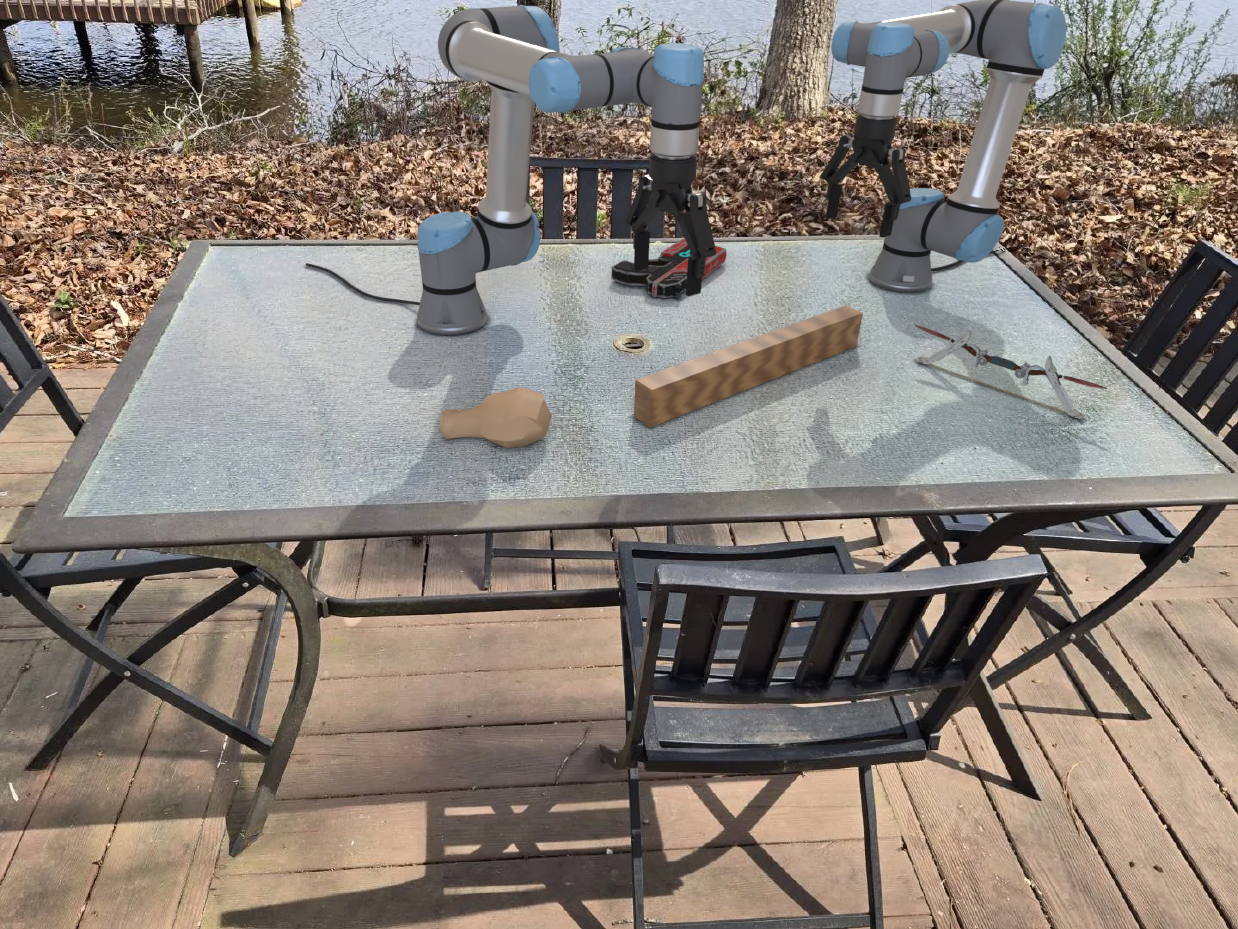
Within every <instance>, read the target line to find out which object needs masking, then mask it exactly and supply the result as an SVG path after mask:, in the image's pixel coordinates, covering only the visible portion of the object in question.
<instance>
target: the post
mask: <svg viewBox="0 0 1238 929" xmlns="http://www.w3.org/2000/svg"><path fill="white" fill-rule="evenodd" d="M863 316H864V312H862V311H860V310H858V309H855V308H853V307H850V306H848V305H844V306H840V307H838V308H834V309H832V310H828V311H827V312H823V313H820V314H817V315H815V316H812V317H809V318H806V319H803V320H801V321H798V322H795V323H792V324H789V325H786V326H784V327H781V328H778V329H775V330H772V331H769V332H766V333H764V334H761V335H758V336H755V337H752V338H750V339H747V340H744V341H742V342H739V343H735V344H733V345H730V346H727V347H725V348H722V349H718V350H715V351H713V352H710V353H707V354H704V355H701V356H698V357H696V358H692V359H690V360H687V361H684V362H681V363H678V364H676V365H673V366H670V367H667V368H664V369H662V370H659V371H656V372H653V373H651V374H648V375H645V376H641V377H639V378H636V379H635V381H634V403H633V404H634V406H633V418H635V419H636V420H638V421H640V423H642V424H644V425H645V426H647V427H648V428H653V427H655V426H658V425H661V424H664V423H666V422H668V421H671V420H673V419H675V418H679V417H681V416H683V415H686V414H688V413H691V412H694V411H696V410H699V409H701V408H704V407H707V406H709V405H711V404H714V403H716V402H720V401H722V400H723V399H726V398H729V397H732V396H734V395H737V394H739V393H742V392H745V391H747V390H749V389H752V388H755V387H757V386H759V385H762V384H765V383H767V382H770V381H773V380H775V379H777V378H780V377H782V376H785V375H788V374H790V373H793V372H795V371H798V370H801V369H802V368H805V367H808V366H810V365H812V364H816V363H819V362H820V361H823V360H825V359H828V358H831V357H833V356H835V355H836V356H837V355H839V354H841V353H844V352H847V351H848V350H851V349H853V348H856V347H857V345H858V340H859V336H860V332H861V326H862V320H863Z"/></svg>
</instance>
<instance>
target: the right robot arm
mask: <svg viewBox="0 0 1238 929" xmlns="http://www.w3.org/2000/svg"><path fill="white" fill-rule="evenodd" d="M1065 16H1066V15H1065V14H1064V12H1063V11H1062V9H1060V7H1058V6H1055V5H1050V4H1045V3H1043V2H1037V3H1036V2H1028V1H1019V0H971V1H964V2H960V3H955V4H949V5H946V6H944V7H942V8H941V9H940V10H939V11H937V12H930V13H925V14H919V15H912V16H906V17H899V18H892V19H887V20H880V21H873V22H859V21H858V20H857V21H843V22H842V23H841V24H839V25H838V26H837V28H836V29H835V31H834V33H833V35H832V38H831V46H830V48H831V49H830V50H831V51H830V52H831V54H832V57H833V59H834V60H835V61H836V62H838V63H843V64H846V65H847V66H850V65H851V66H852V65H853V66H857V67H863V68H864V72H863V78H862V84H861V89H860V94H859V99H858V105H857V112H858V115H857V116H856V118H855V123H854V130H853V134H854V136H853V135H852V134H851V133H850V134H845V135H841V136H840V137H839V141H838V145H837V148H836V149H835V151H834V153H833V154H832V155H831V157H830V159H829V161H828V162H827V164H826V166H825V168H824V169H823V171H822V173H821V175H820V179H821V180H824V181H825V182H826V183H827V190H826V196H825V198H826V201H827V207H826V212H825V219H827V220H830V219H833V218H837V217H838V213H839V206H840V201H841V196H842V189H843V184H840V183H841V182H842V180H843V179H844V178H845V177H847V175H848V174H849V173H850V172H852V170H853V169H854V168H855V167H856V166H858V165H859V166H862V167H864V166H866V167H867V168H869V169H874V172H875V173H876V174H878V177H879V180H880V182H881V185H882V187H883V191H884V192H885V195H886V197H887V200H888V202H887V203H885V204H884V210H883V215H882V219H881V225H880V230H879V236H878V237H879V238H882V239H883V238H884V239H883V244H882V249H881V251H880V253H879V254H878V256H877V258H876V261H875V262H874V265H872V267H871V269H870V272H869V276H868V277H869V281H870V282H871V283H872V284H873V285H874V286H877V287H878V288H881V289H883V290H887V291H889V292H890V291H891V292H896V293H904V294H905V293H906V294H915V293H921V292H925V291H928V290H929V289H930V288H931V287H932V284H933V283H932V282H933V273H932V272H938V271H943V270H947V269H950V268H953V267H956V266H958V265H960V264H962V263H963V262H966V263H971V264H975V263H979V262H982V260H984V259H985V258H986V257H987V256H989V255H993V254H995V253H997V252H998V251H1002V252H1003V253H1005V252H1006V249H1005V247H1003V249H1004V250H1005V251H1003V250H1002V249H1000V250H996V251H992V250H994V249H995V247H996V245H997V244H998V242H999V240H1000V238H1001V237H1002V234H1003V232H1004V223H1005V220H1004V218H1003V217H1001V215H999V214H998V213H999V212H1000V211H999V210H1000V208H1001V205H1000V202H999V201H998V199H997V194H998V190H999V188H1000V184H1001V182H1002V178H1003V175H1004V172H1005V169H1006V166H1007V163H1008V160H1009V157H1010V154H1011V150H1012V148H1013V145H1014V141H1015V138H1016V135H1017V132H1018V129H1019V126H1020V123H1021V119H1022V117H1023V113H1024V111H1025V107H1026V104H1027V102H1028V98H1029V95H1030V92H1031V89H1032V86H1033V85H1034V84H1035V83H1036V82H1038V81H1039V80H1041V79H1042V78H1043V75H1044V73H1045V70H1049V69H1051V68H1053V67H1054V66H1055V65H1056V64H1057V63H1058V60H1059V58H1060V57H1061V56H1062V53H1063V51H1064V47H1065V43H1066V38H1067V22H1066V17H1065ZM951 54H960V55H964V56H965V55H966V56H970V57H974V58H981V59H984V60H988V61H987V63H986V64H987V65H986V68H985V70H986V72H987V73H988V76H989V78H990V80H989V83H988V86H987V90H986V93H985V96H984V100H983V103H982V106H981V110H980V113H979V115H978V120H977V122H976V126H975V128H974V133H973V136H972V139H971V142H970V146H969V149H968V152H967V156H966V159H965V163H964V167H963V168H962V169H963V170H962V173H961V175H960V179H959V182H958V185H957V186H958V187H957V189H956V190H955V191H954V192H952V193H951V194H949V195H948V196H947V199H946V200H944V199H945V193H944V191H942V190H940V189H938V188H937V189H935V188H929V187H927V188H926V187H922V188H921V187H916V188H910V183H909V177H908V173H907V166H906V152H907V151H906V148H904V147H902V148H901V147H900V148H893V147H892V142H893V140H894V138H895V135H896V131H897V130H896V129H897V123H898V119H897V117H896V116H898V115H899V113H900V108H901V102H902V98H903V92H904V87H905V82H906V79H909V78H914V77H921V76H922V77H926V76H928V75H930V74H933V73H936V72H938V71H940V70H942V68H943V67H944V66H945V64H946V62H947V61H948V58H949V55H951ZM851 148H852V150H853V151H852V152H853V153H852V154H851V155H849V157H848V158H846V156H847V155H848V153H849V151H850V149H851ZM845 158H846V161H845V162H844V163H843V161H844V159H845ZM890 161H891V162H890ZM842 163H843V164H842ZM841 164H842V165H841ZM998 247H999V248H1000V247H1001V246H998ZM932 252H935V253H938V254H940V255H944V256H947V257H950V258H953V259H955V260H957V261H955V262H952V263H949V264H945V265H942V266H938V267H932V263H931V254H932Z"/></svg>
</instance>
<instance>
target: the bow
mask: <svg viewBox="0 0 1238 929" xmlns="http://www.w3.org/2000/svg"><path fill="white" fill-rule="evenodd" d="M914 326H915V327H916V328H918V329H920V330H921V331H924V333H925V332H926V333H928V334H930V335H932V336H935V337H937V338H940V339H943V340H946V341H949V342H950V343H951V345H949V346H945V347H943V348H941V349H939V350H937V351H935V352H934V353H933V354H931V355H930V356H927V357H923V356H918V357H917V358H916V361H917V362H918V363H920V364H922V365H929V366H931V367H934V368H937V369H940V370H943V371H946V372H949V373H952V374H954V375H957V376H960V377H963V378H966V379H969V380H971V381H973V382H976V383H979V384H983V385H985V386H988V387H991V388H993V389H997V390H999V391H1003V392H1005V393H1009V394H1010V395H1014V396H1016V397H1019V398H1022V399H1025V400H1027V401H1030V402H1033V403H1037V404H1040V405H1042V406H1045V407H1048V408H1050V409H1054V410H1056V411H1059V412H1062V413H1063V414H1064V413H1065V414H1067V415H1069V416H1070V417H1072V418H1075V419H1079V420H1082V419H1083V418H1085V416H1086V415H1085V414H1083V413H1082V412H1080V411H1079V410H1078V409H1076V408H1075V407H1074V405H1073V402H1072V399H1071V396H1070V395H1069V393H1068V391H1067V390H1066V388H1065V386H1064V385H1062V382H1061V380H1060V379H1062V378H1063V379H1064V380H1066V381H1069V382H1072V383H1076V384H1078V385H1082V386H1087V387H1090V388H1096V389H1103V390H1107V389H1108V387H1106V386H1103V385H1101V384H1097V383H1095V382H1091V381H1089V380H1084V379H1081V378H1078V377H1073V376H1070V375H1069V376H1068V375H1062V374H1059V372H1058V369H1057V367H1056V366H1055V364H1054V362H1053V358H1052V355H1048V356H1047V357H1046V359H1045V363H1044V367H1043V366H1040V365H1039V364H1033V365H1030V363H1028V362H1027V361H1025V362H1024V363H1023V364H1021V365H1018V364H1017V363H1016V362H1014V360H1010V359H1007V358H1004V357H1001V356H998V355H989V349H987V348H986V349H981V348H980V347H979V346H978V345H976V343H975V344H974V343H968V342H969V341H970V340H971V337H972V333H973V330H969V331H967V332H966V333H965V334H964V335H962V336H960V337H958V338H957V339H954V338H951V337H949V336H947V335H945V334H943V333H941V332H938V331H935V330H933V329H929V328H928V327H924V326H922V325H917V324H914ZM963 349H964V350H965V351H967V352H968V353H969V354H970V355H972V356H973V357H974V358H975V359H974V361H973V362H972V365H971V368H972V369H976V368H978V365H980V366H983V367H985V365H987V364H988V363H990V364H992V365H995V366H998V367H1002V368H1005V369H1007V370H1010V371H1014V376H1015V377H1016V378H1018V379H1022V381H1021V382H1022V383H1021V386H1024V387H1027V386H1028V385H1029V381H1030V378H1029V377H1030V376H1045V378H1047V380H1048V382H1049V383H1050V386H1051V387H1052V388H1053V390H1054V392H1055V395H1056V397H1057V398H1058V400H1059V403H1060V405H1061V407H1062V408H1063V410H1062V409H1059V408H1056V407H1053V406H1050V405H1047V404H1044V403H1042V402H1040V401H1036V400H1033V399H1030V398H1027V397H1025V396H1022V395H1019V394H1016V393H1013V392H1011V391H1007V390H1005V389H1002V388H999V387H996V386H994V385H991V384H988V383H985V382H982V381H979V380H976V379H974V378H971V377H969V376H966V375H962V374H959V373H957V372H953V371H951V370H948V369H945V368H942V367H940V366H937V365H934V364H933V363H936V362H939V361H941V360H943V359H944V358H946V357H948V356H949V355H951V354H953V353H955V352H958V351H960V350H963Z"/></svg>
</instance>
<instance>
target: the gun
mask: <svg viewBox="0 0 1238 929" xmlns="http://www.w3.org/2000/svg"><path fill="white" fill-rule="evenodd" d="M715 248H716V255H715V256H712V257H708V258H706V262H705V274H704V276H703V277H702V280H704V279H705V278H707V277H708V276H709V275H710V274H712V273H714V271H716V270H717V269H718V268H720V267H721V266H722V265H723V264H724V263H726V259H727V256H728V254H727V248H725V247H722V246H718V245H715ZM697 250H698V251H699V248H697ZM691 256H692V254H691V252H690V249H689V247H688V245H687V242H686V240H685V237H684V238H682V239H680V240H678V241H677V242H675V243H673V244H672V245H669V247H666V248H665V249H663V250H661V252H660V254H659V256H658V258H652V259H651V258H649V265H648V268H647V269H643V270H640V271H635V270H634V262H631V261H629V260H626V259H623V260H621V261H620V262H617V263H616V264H613V265H612V266H611V276H610V279H611V280H612V281H614V282H616V283H619V284H623V285H627V286H637V287H640V286H641V287H642V286H643V287H645V291H646V292H647V294H648V295H651V297H654V298H662V299H666V298H672V297H673V298H675V299H681V298H682V293H683V292H685V291H686V282H687V268H688V257H691Z"/></svg>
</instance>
